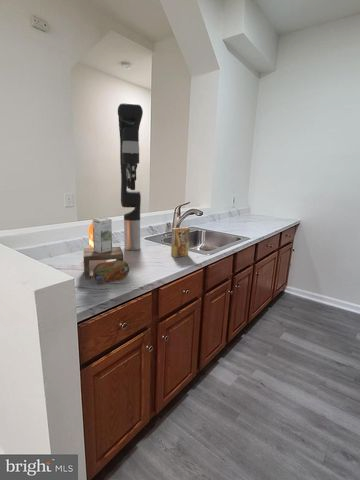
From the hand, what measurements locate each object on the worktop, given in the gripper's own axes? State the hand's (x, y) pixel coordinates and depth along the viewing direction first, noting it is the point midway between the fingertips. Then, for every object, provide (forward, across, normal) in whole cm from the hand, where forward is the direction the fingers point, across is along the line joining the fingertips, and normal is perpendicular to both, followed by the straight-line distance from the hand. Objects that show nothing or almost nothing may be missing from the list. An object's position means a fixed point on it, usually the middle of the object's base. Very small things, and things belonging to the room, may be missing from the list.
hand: (131, 189), depth 127 cm
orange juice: (+36, -16, -15) cm, 42 cm away
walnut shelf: (+36, +10, -14) cm, 40 cm away
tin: (+36, +20, -12) cm, 43 cm away
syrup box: (+26, +10, -14) cm, 31 cm away
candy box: (+36, -7, +27) cm, 46 cm away
